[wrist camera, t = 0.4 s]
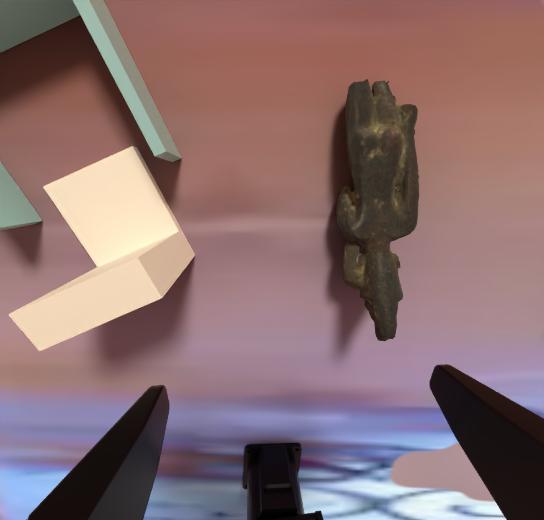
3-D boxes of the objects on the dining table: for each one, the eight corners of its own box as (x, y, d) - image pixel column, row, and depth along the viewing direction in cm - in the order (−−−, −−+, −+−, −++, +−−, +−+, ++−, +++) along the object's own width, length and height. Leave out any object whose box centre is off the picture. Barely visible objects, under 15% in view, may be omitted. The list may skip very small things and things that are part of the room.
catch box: (181, 158, 20) (166, 151, 16) (33, 224, 20) (-17, 233, 17) (98, -11, 17) (53, -70, 13) (-77, 72, 17) (-170, 39, 13)
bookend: (195, 255, 22) (162, 297, 14) (118, 288, 23) (39, 351, 14) (137, 147, 20) (50, 116, 11) (50, 186, 20) (-102, 186, 11)
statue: (324, 107, 22) (338, 325, 24) (334, 66, 17) (351, 351, 19) (398, 97, 22) (407, 322, 24) (433, 51, 16) (441, 348, 18)
